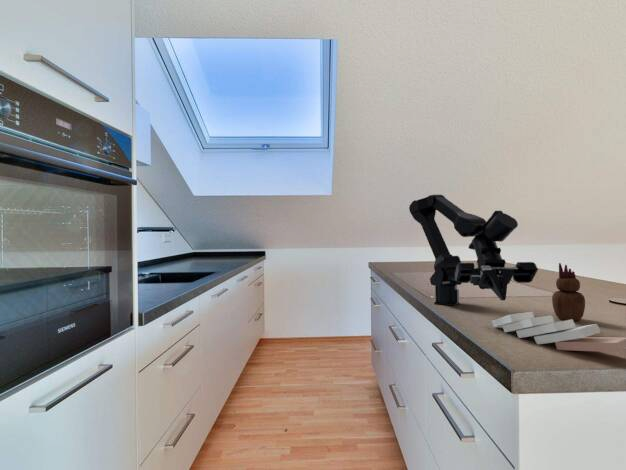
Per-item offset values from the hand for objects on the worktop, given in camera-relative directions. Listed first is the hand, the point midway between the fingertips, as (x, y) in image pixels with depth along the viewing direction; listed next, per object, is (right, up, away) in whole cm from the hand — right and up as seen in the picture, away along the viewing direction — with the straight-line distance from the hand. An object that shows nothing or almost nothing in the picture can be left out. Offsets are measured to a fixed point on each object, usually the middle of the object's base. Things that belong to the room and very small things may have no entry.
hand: (503, 299), depth 80 cm
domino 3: (+1, -6, -7) cm, 9 cm away
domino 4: (+3, -6, -10) cm, 12 cm away
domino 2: (+1, -6, -3) cm, 7 cm away
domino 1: (+1, -6, +1) cm, 6 cm away
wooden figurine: (+21, -7, +6) cm, 22 cm away
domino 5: (+4, -6, -13) cm, 15 cm away
